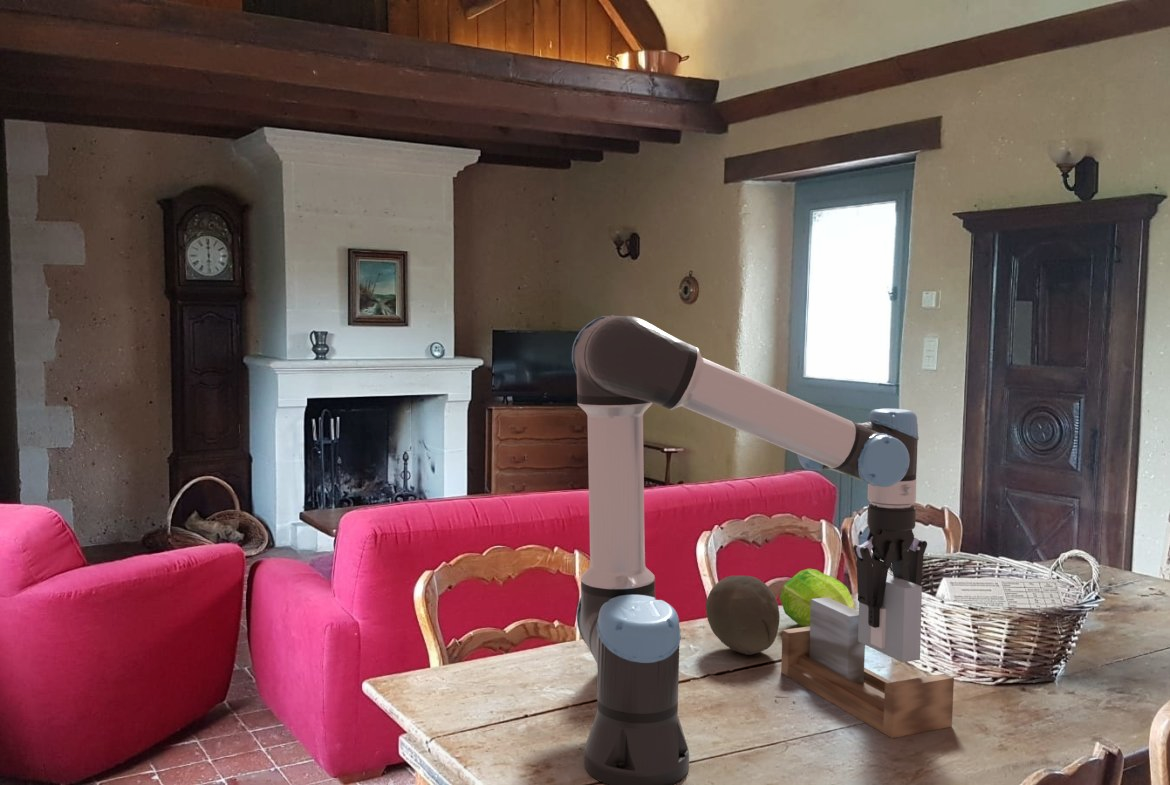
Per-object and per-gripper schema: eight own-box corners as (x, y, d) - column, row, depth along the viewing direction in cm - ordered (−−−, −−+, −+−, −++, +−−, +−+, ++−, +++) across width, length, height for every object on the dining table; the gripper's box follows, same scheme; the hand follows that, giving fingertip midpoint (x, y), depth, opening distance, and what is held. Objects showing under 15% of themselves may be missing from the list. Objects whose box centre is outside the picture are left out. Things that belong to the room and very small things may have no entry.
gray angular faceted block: (902, 662, 155) (904, 588, 154) (858, 641, 165) (859, 571, 164) (920, 659, 156) (922, 586, 155) (874, 638, 166) (876, 569, 165)
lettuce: (818, 652, 190) (820, 592, 189) (769, 621, 209) (771, 566, 208) (880, 646, 194) (882, 587, 193) (826, 616, 213) (828, 562, 212)
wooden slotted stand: (891, 738, 151) (894, 649, 150) (781, 672, 178) (783, 597, 177) (951, 726, 155) (955, 640, 154) (835, 664, 183) (837, 591, 182)
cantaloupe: (775, 642, 195) (777, 568, 194) (781, 667, 181) (784, 588, 180) (704, 639, 197) (706, 566, 196) (705, 663, 183) (707, 585, 182)
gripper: (865, 511, 152) (862, 658, 154) (947, 504, 159) (943, 644, 160) (835, 503, 159) (832, 643, 161) (915, 496, 165) (912, 631, 167)
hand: (888, 643), depth 161 cm, fingers closed on gray angular faceted block, 3 cm apart
